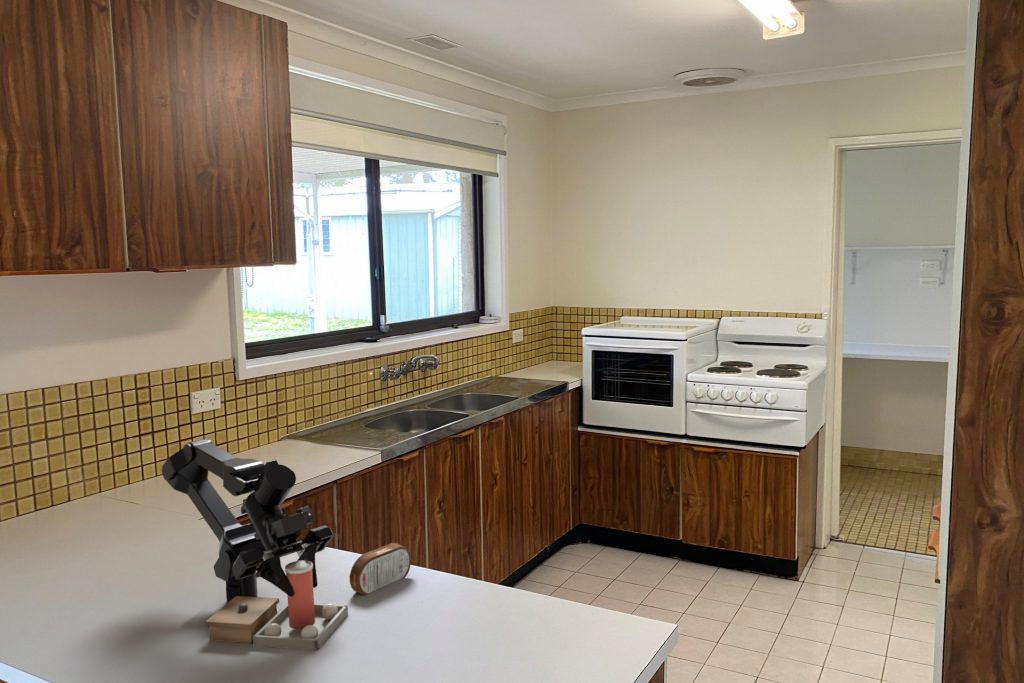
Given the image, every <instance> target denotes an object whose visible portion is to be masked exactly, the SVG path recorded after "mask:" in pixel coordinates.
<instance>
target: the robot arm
mask: <svg viewBox="0 0 1024 683" xmlns="http://www.w3.org/2000/svg"><path fill="white" fill-rule="evenodd" d="M209 472H210V473H212V474H214V475H215V476H217V477H219V478H220V479H221V481H222V484H223V485H222V486H223V488H224V489H225V490H226V491H228V493H230V494H231V495H232V496H233V497H239V496H242V495H246V494H248V495H247V497H246V498H244V499H242V505H241V508H240V514H241V515H245V514H247V516H248V518H249V520H250V521H251V522H250V523H246V524H243V525H242V524H241V523H240V521H238V519H237V518H236V516H235V515H234V513H233V512H232V511H231V509H230V508H229V507H228V505H227V504H226V503H225V501H224V500H223V499H222V497H221V496H220V494H219V493H218V492H217V490H216V489H215V487H214V486H213V485H212V483H211V482H210V480H209V479H208V477H209ZM161 474H162V477H163V479H164V481H166V482H167V484H169V486H170V487H171V488H172V489H173V490H175V491H177V492H179V493H182V494H186V495H187V496H188V497H189V499H190V501H192V503H193V505H194V506H195V507H196V509H197V510H198V513H199V514H200V515H201V516H202V518H203V519H204V521H205V522H206V523H207V525H208V527H209V528H210V529H211V531H212V532H213V534H214V535H215V537H216V538H217V540H218V541H219V546H218V547H219V548H218V558H217V560H216V561H215V563H214V564H213V570H214V575H215V577H216V578H217V579H218V578H219V579H221V580H223V581H225V596H226V597H225V598H226V604H227V603H228V602H230V601H231V600H232V599H233V598H235V597H236V596H246V597H258V593H259V592H258V581H257V580H258V579H257V578H262V579H263V580H265V581H266V582H268V583H270V584H272V585H273V586H274V587H276V588H277V589H279V590H280V591H282V592H283V593H284V594H286V596H287V595H289V596H290V597H292V596H293V595H294V591H293V588H292V586H291V584H290V582H289V580H288V578H287V576H286V572H285V570H284V569H283V566H282V563H281V558H283V557H285V556H288V555H291V554H294V553H297V555H298V559H297V560H296V561H301V560H305V561H310V562H312V563H313V569H312V575H313V589H315V588H317V587H318V584H319V583H318V575H317V567H316V554H318V553H320V552H322V551H324V550H325V549H326V548H327V546H328V545H329V543H330V542H331V541H332V539H333V538H334V537H335V534H334V532H333V530H332V528H330V526H327V525H325V524H324V525H322V526H321V525H320V526H318V527H315V528H313V529H310V530H308V529H309V525H310V524H312V523H314V522H315V517H314V513H313V512H312V510H311V508H310V506H309V505H306V506H303V507H300V508H299V509H296V513H295V514H292V515H290V514H289V513H288V512H283V511H282V508H281V507H280V506H281V505H282V504H283V502H284V501H285V500H286V498H287V497H288V495H289V493H290V492H291V491H292V489H293V488H294V486H295V484H296V483H297V476H296V473H295V472H294V470H292V469H291V468H289V467H288V466H286V465H284V464H279V462H278V460H276V459H273V460H268V461H266V462H265V464H264V463H263V462H262V461H261V460H258V459H253V458H241V457H240V458H239V457H237V456H235V455H233V454H232V453H230V452H229V451H227V450H225V449H222V448H221V447H219V446H217V445H215V444H214V443H213V441H212V440H211V439H207V438H204V439H199V440H198V439H197V440H195V441H190V442H188V443H186V444H184V446H183V447H182V448H181V449H179V450H178V451H176V452H175V453H173V454H172V455H169V457H168V458H167V459H166V460H165V462H164V463H163V464H162V467H161ZM304 530H308V532H307V534H306V535H305V536H304V538H302V539H298V540H297V538H300V536H301V535H302V531H304Z"/></svg>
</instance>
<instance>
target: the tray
mask: <svg viewBox="0 0 1024 683" xmlns="http://www.w3.org/2000/svg"><path fill="white" fill-rule="evenodd" d="M326 604H327V603H315V602H314V611H315V623H314V624H313V626H315V627H316V628H317V630H318V636H317V637H316V638H315V639H311V638H301V631H302V629H293V628H291V627H290V626H289V613H288V602H287V603H286V604H285V605H284V606H283V607H282V608H281V609H280V610H279V611H277V614H276V615H275V616H274V617H273V618H272V619H271V620H270V621H269V622H267V623H266V624H265V625H264V626H263V627H262V628H261V629H260V630H259V631H258V632H257V633H256V634H255V635H254V636H253V642H252V643H253V644H252V645H253V647H264V648H278V649H291V650H292V649H293V650H294V649H295V650H309V651H310V650H311V651H318V650H319V649H320V648H321V647H322V646H323V644H324V643H325V642H326V641H327V639H328V638H330V636H331V635H332V634H333V633H334V631H335V630H336V629H337V628H338V627H339V625H340V624H341V623H342V622H343V621H344V619H345V618H346V617H347V616H348V615H349V610H348V608H349V607H348V604H335V605H336V606H337V608H338V613H337V614H336V615H335V617H334V618H333V619H332V620H327V619H325V618H324V617H323V615H322V609H323V607H324V606H325V605H326ZM270 623H277V624H279V625H280V627H281V630H282V632H281V635H280V636H265V635H264V630H265V628H266V626H267V625H268V624H270Z"/></svg>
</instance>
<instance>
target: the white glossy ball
mask: <svg viewBox="0 0 1024 683" xmlns="http://www.w3.org/2000/svg"><path fill="white" fill-rule="evenodd" d="M317 636H318V630H317V628H316V627H315V626H313V625H308V626H305V627H304V628H303V629H302V631H301V638H311V639H315V638H316V637H317Z"/></svg>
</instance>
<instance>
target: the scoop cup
mask: <svg viewBox="0 0 1024 683" xmlns="http://www.w3.org/2000/svg"><path fill="white" fill-rule="evenodd" d="M312 569H313V563H312V562H310V561H305V560H301V561H297V560H296V561H292V562H289V563H287V564H286V565H285V566H284V573H285V574H286V576H287V578H288V580H289V582H290V584H291V586H292V588H293V591H294V595H293V596H292V597H290V596H289V595H287V594H286V596H287V603H288V613H289V626H290V627H291V628H293V629H303V628H304V627H305V626H308V625H313V624H314V623H315V611H314V603H315V597H314V596H315V595H314V588H313V575H312Z"/></svg>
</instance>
